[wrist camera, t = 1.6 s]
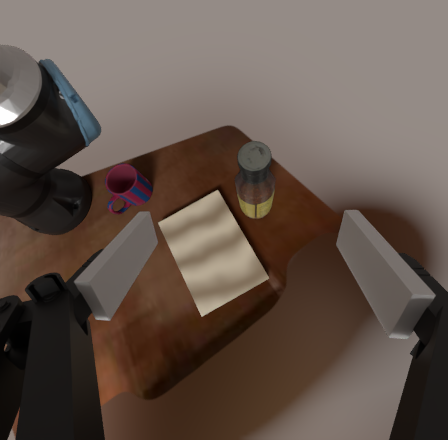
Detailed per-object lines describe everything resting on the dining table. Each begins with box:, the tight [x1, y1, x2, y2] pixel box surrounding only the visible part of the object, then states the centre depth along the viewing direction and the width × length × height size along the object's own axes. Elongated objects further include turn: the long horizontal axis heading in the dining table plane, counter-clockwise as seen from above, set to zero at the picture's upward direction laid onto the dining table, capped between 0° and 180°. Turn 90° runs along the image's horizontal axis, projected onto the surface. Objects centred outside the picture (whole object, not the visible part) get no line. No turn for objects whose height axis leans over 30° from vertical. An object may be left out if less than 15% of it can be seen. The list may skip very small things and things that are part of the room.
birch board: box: [158, 190, 269, 316], centre depth 42 cm, size 20×14×2 cm
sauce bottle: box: [235, 141, 276, 219], centre depth 35 cm, size 6×6×20 cm
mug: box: [105, 163, 152, 214], centre depth 45 cm, size 7×10×7 cm
